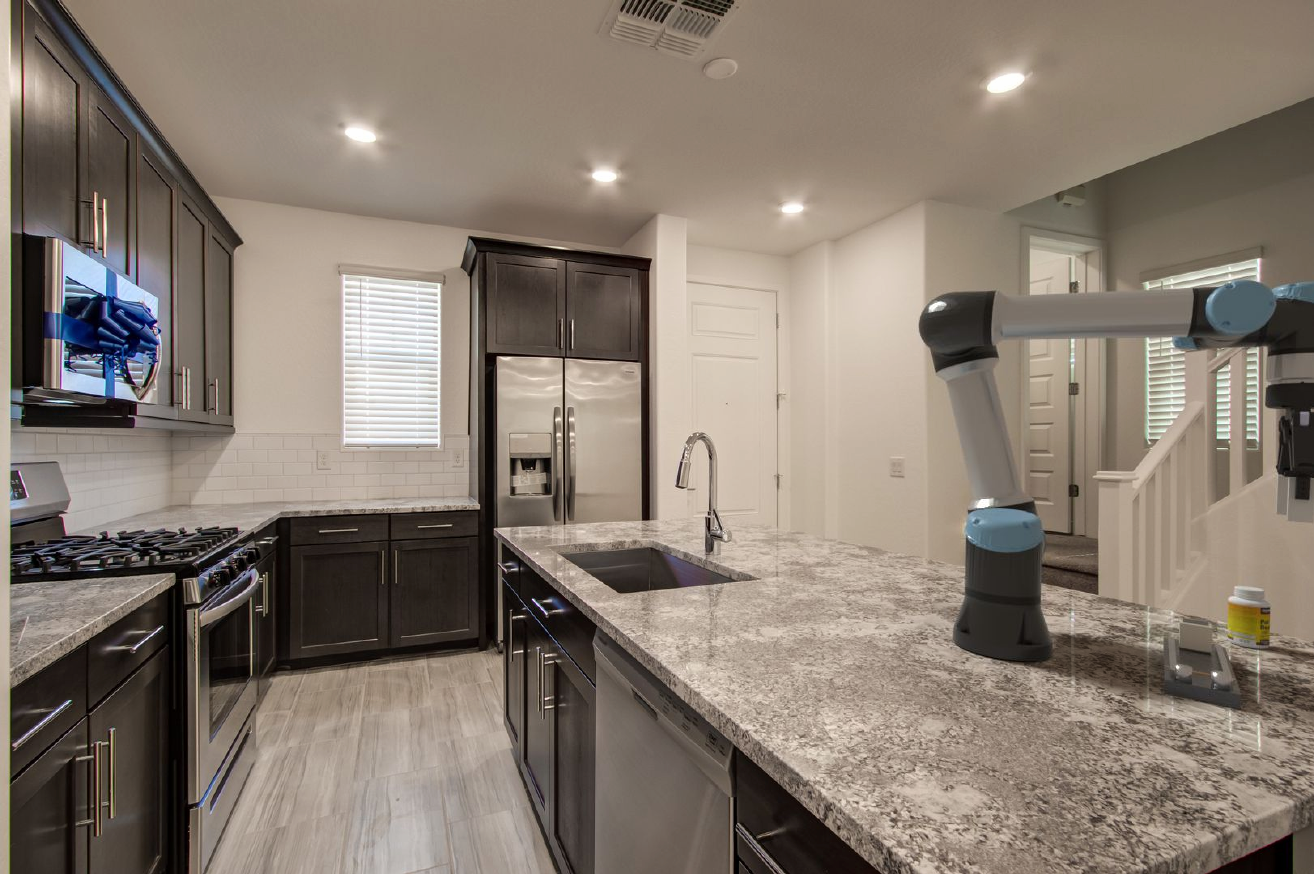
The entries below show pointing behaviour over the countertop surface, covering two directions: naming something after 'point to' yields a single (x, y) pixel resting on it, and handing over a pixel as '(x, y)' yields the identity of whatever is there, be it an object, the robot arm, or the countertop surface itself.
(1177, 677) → the console
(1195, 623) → the fader tab
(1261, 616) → the supplement bottle
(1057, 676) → the countertop surface
